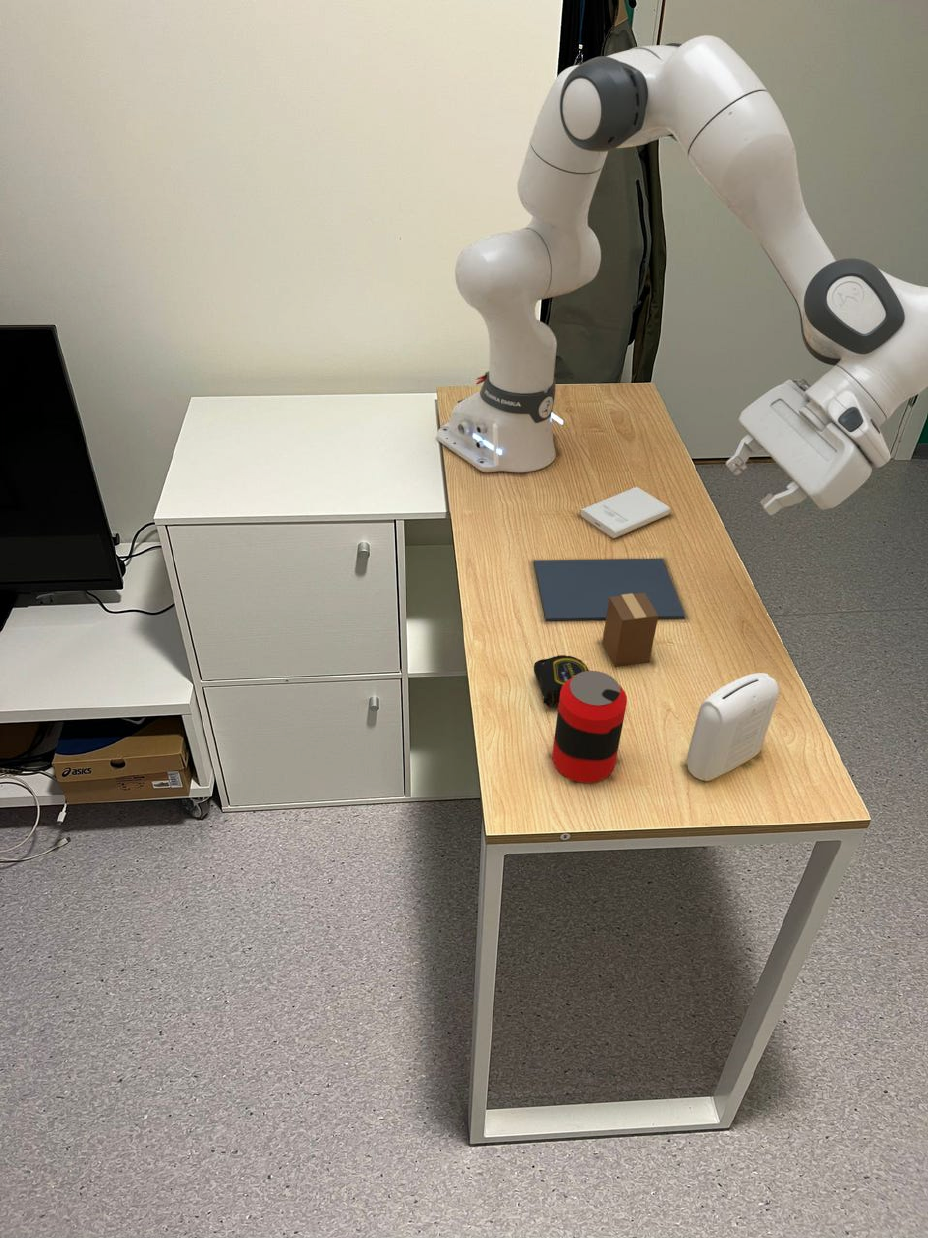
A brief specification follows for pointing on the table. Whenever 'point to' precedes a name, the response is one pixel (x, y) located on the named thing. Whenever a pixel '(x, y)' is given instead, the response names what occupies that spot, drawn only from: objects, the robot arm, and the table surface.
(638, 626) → the box
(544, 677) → the tape measure
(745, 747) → the photo printer
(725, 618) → the table surface
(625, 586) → the desk mat
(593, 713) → the soda can
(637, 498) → the hard drive
